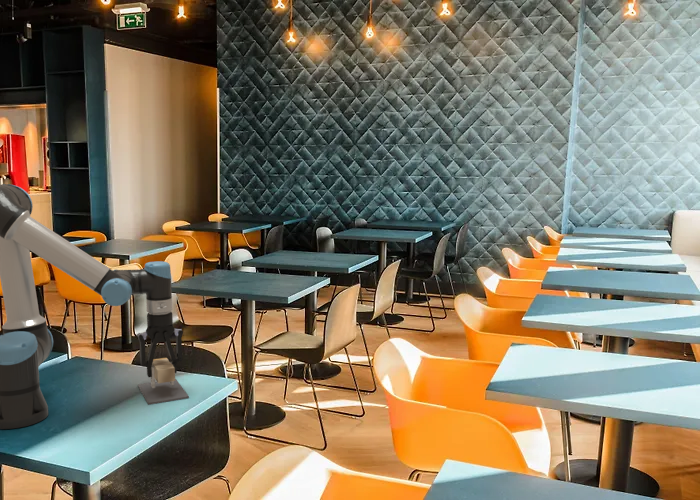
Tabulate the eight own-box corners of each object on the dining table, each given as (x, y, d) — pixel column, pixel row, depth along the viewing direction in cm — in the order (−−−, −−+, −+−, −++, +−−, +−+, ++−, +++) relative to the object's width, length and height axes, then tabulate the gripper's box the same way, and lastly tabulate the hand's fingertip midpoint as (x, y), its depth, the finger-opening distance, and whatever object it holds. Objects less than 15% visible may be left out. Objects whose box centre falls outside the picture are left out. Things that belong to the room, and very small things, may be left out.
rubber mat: (148, 404, 188) (148, 402, 188) (137, 386, 203) (137, 384, 203) (188, 398, 193) (188, 396, 193) (175, 380, 209) (175, 378, 209)
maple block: (175, 380, 193) (166, 369, 203) (174, 368, 192) (166, 357, 203) (158, 383, 190) (150, 372, 201) (157, 370, 190) (150, 359, 200)
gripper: (130, 317, 187) (134, 393, 191) (192, 311, 196) (194, 384, 199) (127, 312, 194) (130, 386, 197) (186, 306, 202) (188, 377, 205)
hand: (162, 385), depth 198 cm, fingers closed on maple block, 5 cm apart
